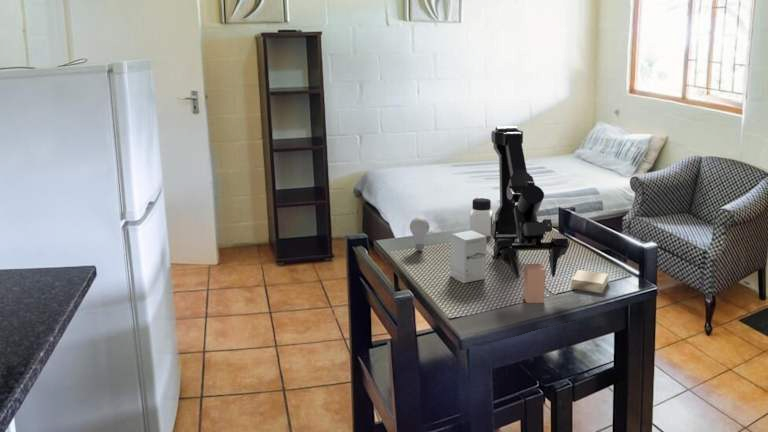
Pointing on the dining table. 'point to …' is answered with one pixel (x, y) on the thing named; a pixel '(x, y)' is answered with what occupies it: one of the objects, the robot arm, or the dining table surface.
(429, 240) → the dining table surface
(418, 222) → the lightbulb
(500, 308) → the dining table surface
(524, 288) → the terracotta pillar
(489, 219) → the medicine bottle
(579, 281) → the beech block
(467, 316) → the dining table surface
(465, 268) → the supplement box
